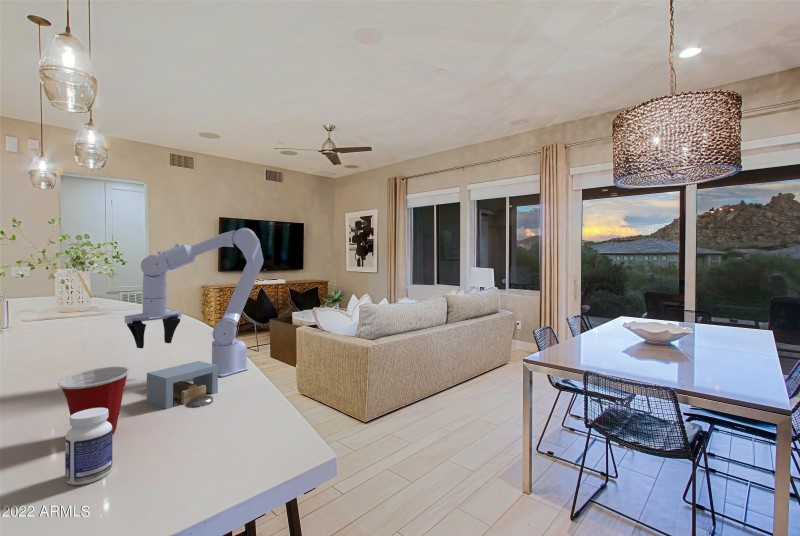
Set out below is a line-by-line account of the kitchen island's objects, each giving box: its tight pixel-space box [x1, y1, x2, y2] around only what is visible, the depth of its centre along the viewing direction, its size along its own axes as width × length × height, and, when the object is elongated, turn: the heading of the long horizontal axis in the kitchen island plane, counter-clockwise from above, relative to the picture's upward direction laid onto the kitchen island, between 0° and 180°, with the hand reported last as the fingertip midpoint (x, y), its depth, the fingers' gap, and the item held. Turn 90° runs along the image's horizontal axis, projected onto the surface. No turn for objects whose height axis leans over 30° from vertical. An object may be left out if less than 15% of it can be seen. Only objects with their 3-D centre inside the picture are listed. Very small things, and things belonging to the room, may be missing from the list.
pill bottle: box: [64, 408, 113, 486], centre depth 59 cm, size 6×6×10 cm
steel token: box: [188, 395, 214, 408], centre depth 91 cm, size 5×5×1 cm
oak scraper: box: [173, 380, 207, 405], centre depth 96 cm, size 6×18×4 cm, turn 61°
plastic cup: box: [57, 365, 130, 436], centre depth 73 cm, size 11×11×12 cm
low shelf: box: [146, 360, 219, 410], centre depth 94 cm, size 13×8×7 cm, turn 151°
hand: (154, 345), depth 109 cm, fingers open, 7 cm apart
